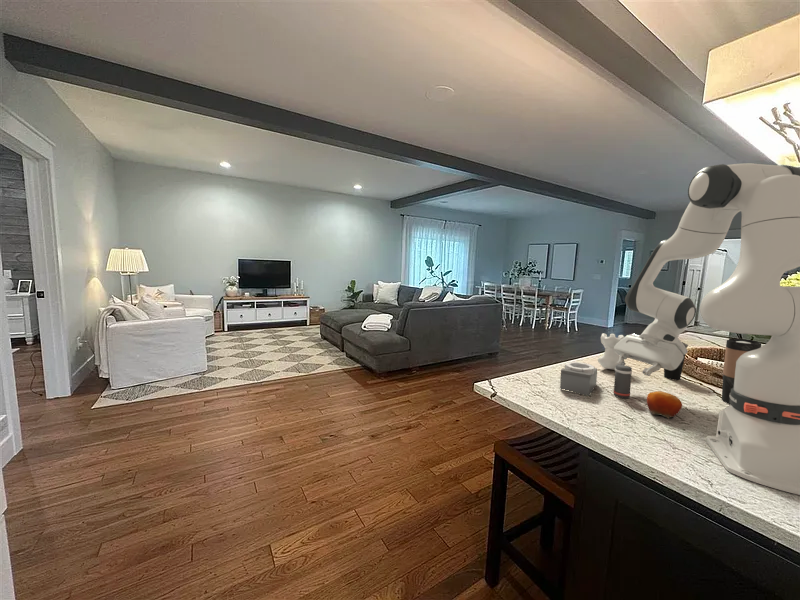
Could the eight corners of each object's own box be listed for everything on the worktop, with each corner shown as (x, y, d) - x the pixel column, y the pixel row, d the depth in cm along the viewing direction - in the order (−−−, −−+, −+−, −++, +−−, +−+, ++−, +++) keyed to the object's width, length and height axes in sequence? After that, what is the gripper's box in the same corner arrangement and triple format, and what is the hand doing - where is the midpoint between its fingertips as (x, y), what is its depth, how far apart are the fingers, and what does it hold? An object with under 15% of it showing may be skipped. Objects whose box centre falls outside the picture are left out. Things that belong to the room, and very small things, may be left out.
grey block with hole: (588, 396, 110) (590, 373, 109) (560, 389, 116) (560, 367, 115) (596, 384, 121) (597, 363, 120) (569, 379, 126) (570, 358, 126)
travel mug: (762, 408, 99) (769, 344, 97) (732, 407, 101) (739, 343, 99) (741, 398, 107) (748, 338, 104) (714, 397, 108) (719, 337, 106)
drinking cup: (657, 377, 127) (661, 327, 125) (661, 373, 132) (665, 324, 130) (683, 382, 121) (687, 329, 119) (686, 378, 127) (690, 327, 124)
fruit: (642, 412, 94) (646, 385, 97) (645, 417, 100) (649, 392, 102) (679, 421, 89) (682, 392, 91) (680, 426, 94) (683, 399, 96)
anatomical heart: (596, 370, 136) (598, 335, 134) (597, 364, 145) (599, 330, 144) (624, 374, 131) (627, 338, 129) (624, 367, 140) (626, 333, 138)
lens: (629, 399, 107) (631, 370, 106) (612, 396, 110) (614, 367, 109) (630, 395, 110) (632, 366, 109) (614, 392, 113) (616, 364, 112)
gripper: (624, 327, 121) (601, 355, 119) (684, 339, 101) (656, 373, 100) (633, 338, 122) (610, 366, 121) (693, 352, 102) (667, 386, 101)
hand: (631, 369), depth 110 cm, fingers open, 8 cm apart
